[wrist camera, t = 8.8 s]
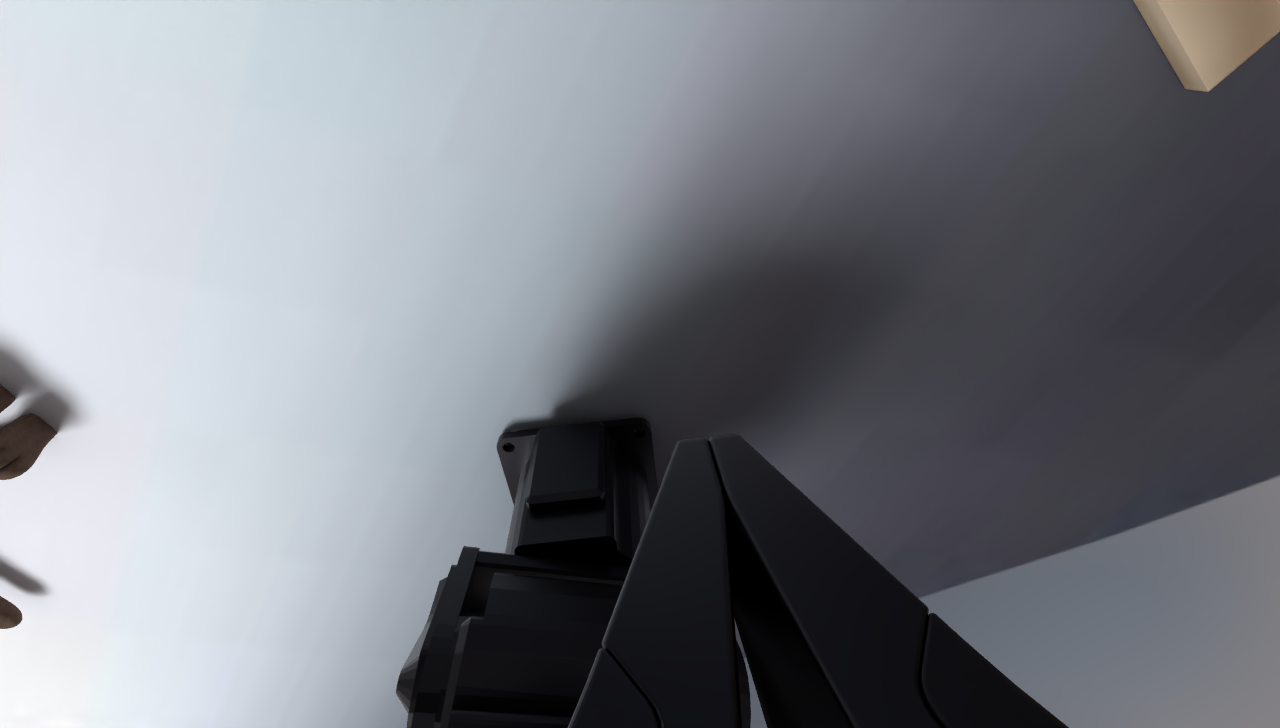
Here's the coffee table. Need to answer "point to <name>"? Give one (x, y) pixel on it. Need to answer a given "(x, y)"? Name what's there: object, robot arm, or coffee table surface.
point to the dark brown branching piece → (19, 469)
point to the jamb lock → (1209, 35)
